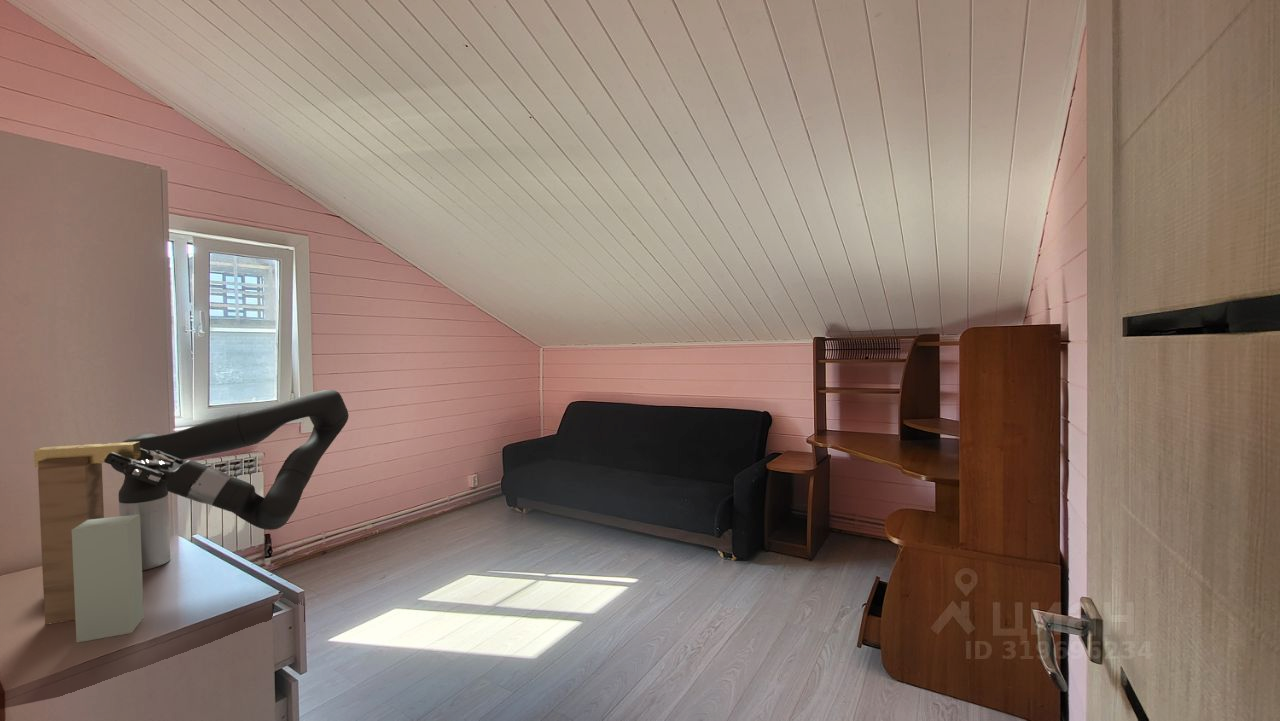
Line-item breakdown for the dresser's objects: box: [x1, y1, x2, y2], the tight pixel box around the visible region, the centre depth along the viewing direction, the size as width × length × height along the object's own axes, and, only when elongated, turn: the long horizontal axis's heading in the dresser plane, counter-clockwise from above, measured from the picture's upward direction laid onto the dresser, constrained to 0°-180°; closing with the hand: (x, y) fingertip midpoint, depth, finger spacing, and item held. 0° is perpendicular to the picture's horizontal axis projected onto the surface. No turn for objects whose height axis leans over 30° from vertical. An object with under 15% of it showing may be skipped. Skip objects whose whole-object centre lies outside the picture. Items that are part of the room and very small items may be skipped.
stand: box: [37, 457, 105, 625], centre depth 112 cm, size 7×7×34 cm
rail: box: [33, 441, 141, 468], centre depth 112 cm, size 4×15×4 cm, turn 115°
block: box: [72, 514, 145, 644], centre depth 106 cm, size 6×8×22 cm
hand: (116, 452), depth 114 cm, fingers open, 8 cm apart
